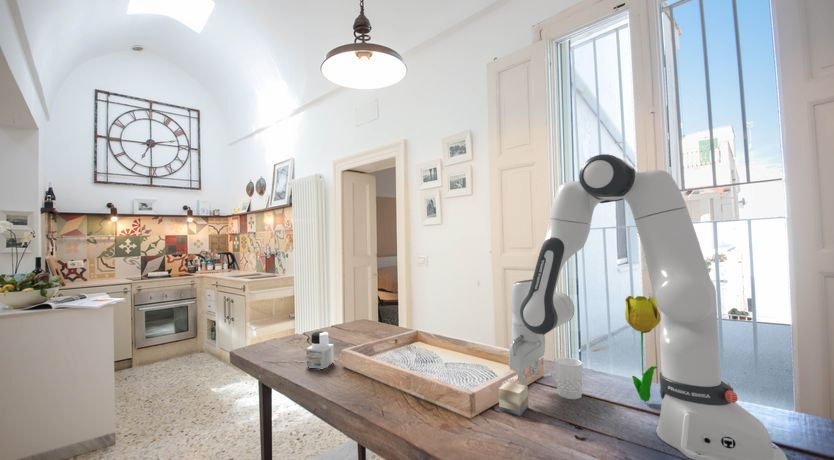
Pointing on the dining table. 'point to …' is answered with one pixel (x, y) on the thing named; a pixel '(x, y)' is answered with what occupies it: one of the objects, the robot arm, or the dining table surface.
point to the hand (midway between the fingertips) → (528, 378)
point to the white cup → (568, 377)
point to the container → (320, 351)
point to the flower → (642, 319)
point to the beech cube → (513, 398)
